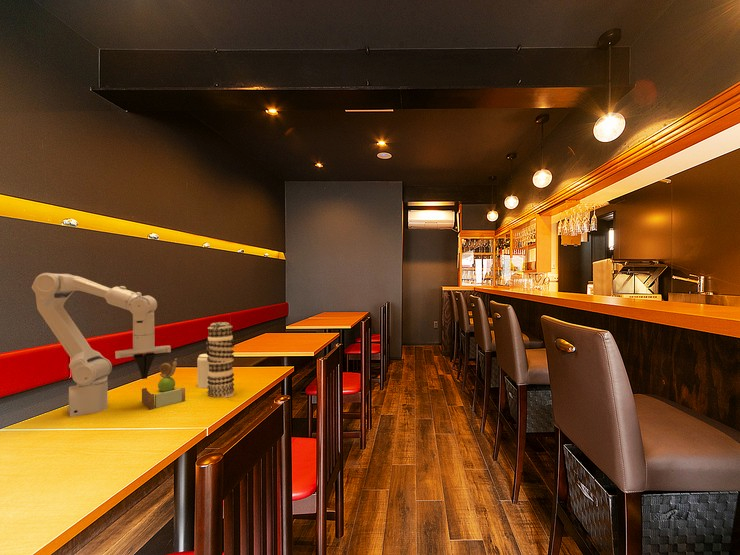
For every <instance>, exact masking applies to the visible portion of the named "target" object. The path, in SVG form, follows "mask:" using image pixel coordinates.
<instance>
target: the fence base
mask: <svg viewBox="0 0 740 555" xmlns="http://www.w3.org/2000/svg"><path fill="white" fill-rule="evenodd" d="M141 403H143V405H144V406H146V408H147V410H154V409H155V394H154V393H151V392H150V391H148V388H147V387H142V388H141Z"/></svg>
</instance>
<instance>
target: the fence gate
mask: <svg viewBox="0 0 740 555" xmlns="http://www.w3.org/2000/svg"><path fill="white" fill-rule="evenodd" d="M185 401H186V388H185V387H181V388H177V389H173V390H171V391H167V392H159V393H155V394H154V409H155V408H156V409H157V408H161V407H165V406H169V405H174V404H178V403H182V402H185Z"/></svg>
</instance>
